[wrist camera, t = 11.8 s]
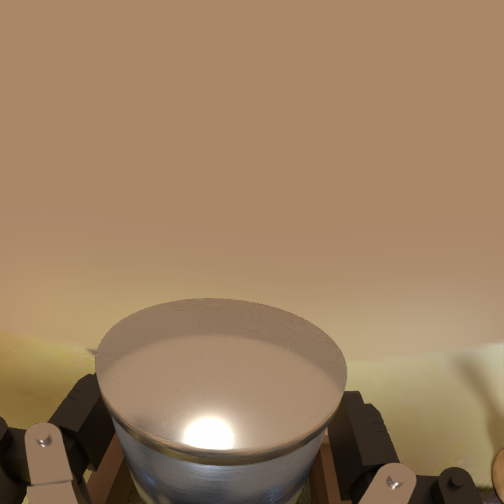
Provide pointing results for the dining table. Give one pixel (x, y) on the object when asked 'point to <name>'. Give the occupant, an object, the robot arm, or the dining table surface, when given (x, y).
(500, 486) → the hand bell
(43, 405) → the dining table surface
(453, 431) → the dining table surface
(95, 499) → the wooden u-shaped bracket
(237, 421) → the tin
